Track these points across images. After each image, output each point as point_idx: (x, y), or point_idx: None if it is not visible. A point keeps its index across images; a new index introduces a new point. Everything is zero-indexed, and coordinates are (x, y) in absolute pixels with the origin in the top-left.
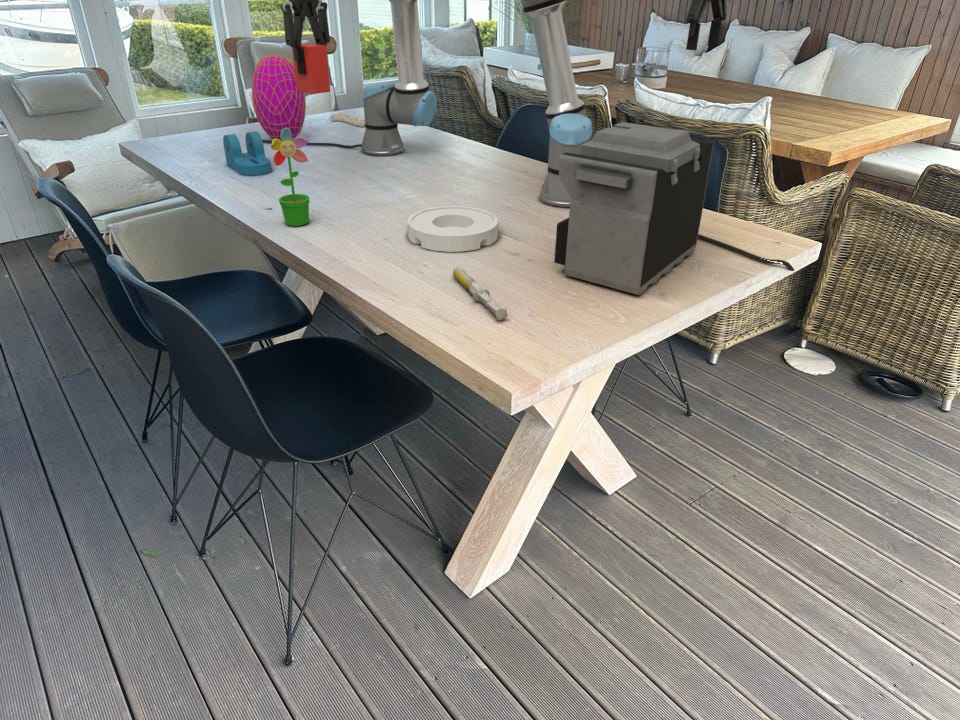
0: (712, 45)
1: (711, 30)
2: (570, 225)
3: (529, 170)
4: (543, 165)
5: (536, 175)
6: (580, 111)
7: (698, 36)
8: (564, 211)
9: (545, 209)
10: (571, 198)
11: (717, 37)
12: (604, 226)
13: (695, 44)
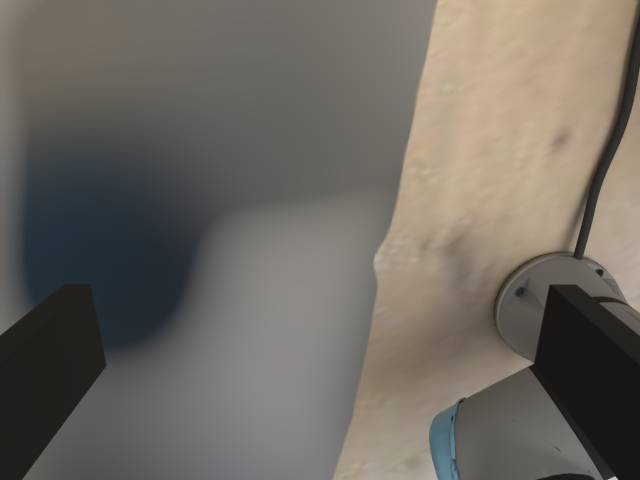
0: (93, 325)
1: (18, 460)
2: None
3: (395, 464)
4: (340, 465)
5: (419, 436)
6: (564, 473)
7: (633, 356)
8: (629, 265)
9: (636, 300)
10: (611, 277)
11: (41, 333)
12: None
13: (604, 317)
